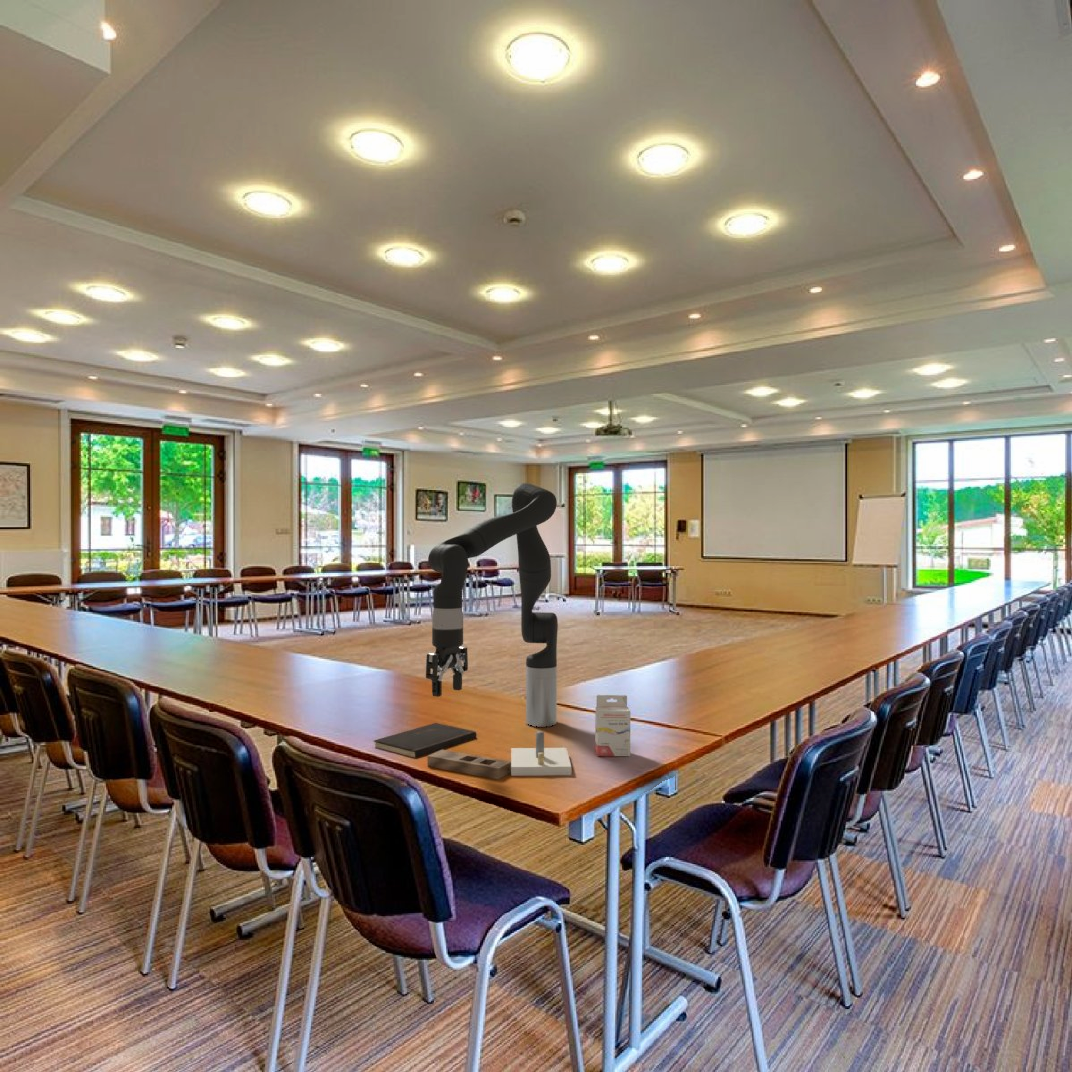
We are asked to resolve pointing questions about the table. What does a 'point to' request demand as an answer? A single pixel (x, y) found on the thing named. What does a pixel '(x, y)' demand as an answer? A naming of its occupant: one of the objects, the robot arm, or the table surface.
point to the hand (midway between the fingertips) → (447, 693)
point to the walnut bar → (469, 764)
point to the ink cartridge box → (612, 726)
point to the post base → (540, 760)
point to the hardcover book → (425, 739)
